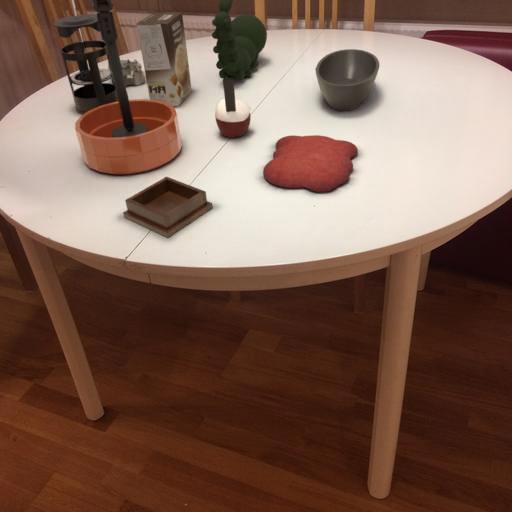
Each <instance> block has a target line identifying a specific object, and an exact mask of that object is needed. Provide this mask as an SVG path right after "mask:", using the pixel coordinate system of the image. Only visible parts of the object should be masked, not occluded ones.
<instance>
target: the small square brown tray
mask: <svg viewBox="0 0 512 512" xmlns="http://www.w3.org/2000/svg"><path fill="white" fill-rule="evenodd" d="M125 205H126V209H127V210H125V211H123V212H122V214H123V218H125V219H127V220H129V221H131V222H133V223H136V224H138V225H140V226H142V227H145V229H148V230H150V231H153V232H155V233H157V234H159V235H161V236H163V237H166V238H169V237H171V236H173V235H174V234H177V232H179V231H180V230H182V229H183V228H185V227H187V226H188V225H189V224H192V222H194V221H195V220H197V219H198V218H200V217H201V216H203V215H204V214H206V213H208V212H209V211H210V210H212V209H213V208H214V205H213V202H210V201H208V198H207V191H206V190H203V189H201V188H197V187H195V186H192V185H189V184H188V183H184V182H182V181H179V180H177V179H174V178H171V177H169V176H165V177H163V178H161V179H160V180H157V181H156V182H154V183H152V184H151V185H149V186H147V187H146V188H143V189H142V190H140V191H139V192H137V193H135V194H133V195H131V196H130V197H128V198H126V199H125Z"/></svg>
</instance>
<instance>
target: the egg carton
mask: <svg viewBox="0 0 512 512" xmlns="http://www.w3.org/2000/svg"><path fill="white" fill-rule="evenodd" d="M120 61H121V66H122V71H123V76H124V80H125V85H126V87H127V86H131V85H135V86H140V85H141V84H143V83H145V75H144V73H143V70H142V63H140V62H139V61H138V60H137V59H133V61H131V60H130V59H129V58H127V59H126V60H125V59H120ZM107 68H108V69H107V70H110V67H109V63H108V62H107Z"/></svg>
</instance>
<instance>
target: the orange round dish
mask: <svg viewBox="0 0 512 512" xmlns="http://www.w3.org/2000/svg"><path fill="white" fill-rule="evenodd" d="M129 104H130V109H131V113H132V118H133V123H141V124H145V125H146V126H147V127H148V129H149V131H148V132H145V133H142V134H138V135H133V136H127V137H114V138H113V136H112V131H113V130H114V129H115V128H117V127H119V126H121V125H124V124H123V119H122V115H121V110H120V106H119V101H117V102H113V103H109V104H105V105H102V106H99V107H97V108H94V109H92V110H89V111H88V112H86V113H85V114H81V115H80V116H79V117H78V119H76V121H75V122H74V130H75V133H76V136H77V141H78V145H79V147H80V152H81V154H82V159H83V162H84V163H85V164H86V165H87V166H88V168H90V169H93V170H94V171H97V172H101V173H105V174H107V175H108V174H109V175H134V174H140V173H145V172H148V171H151V170H155V169H157V168H159V167H162V166H163V165H165V164H167V163H169V162H170V161H171V160H173V159H174V158H175V157H176V156H177V155H178V154H179V153H180V151H181V149H182V146H183V145H182V137H181V132H180V131H181V130H180V125H179V124H180V123H179V118H178V113H177V110H176V108H175V106H171V105H170V104H168V103H165V102H162V101H158V100H150V99H148V98H147V99H146V98H140V99H139V98H137V99H135V98H134V99H129Z"/></svg>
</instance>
